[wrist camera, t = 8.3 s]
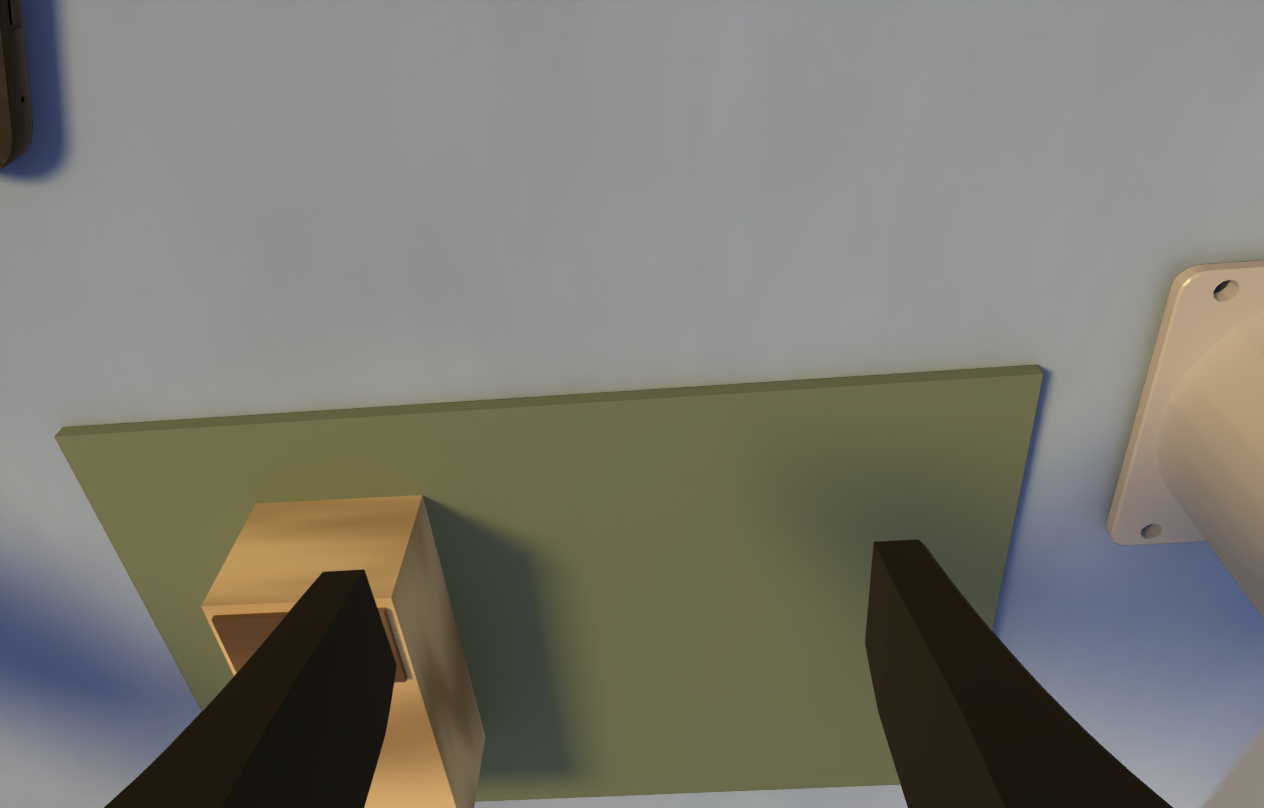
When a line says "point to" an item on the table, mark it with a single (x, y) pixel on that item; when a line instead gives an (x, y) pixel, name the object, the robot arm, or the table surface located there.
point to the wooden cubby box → (411, 615)
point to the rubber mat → (617, 555)
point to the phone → (13, 85)
